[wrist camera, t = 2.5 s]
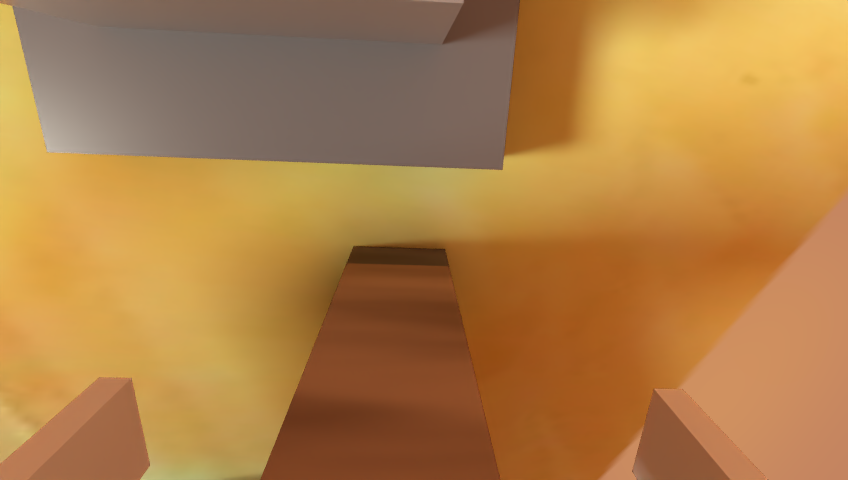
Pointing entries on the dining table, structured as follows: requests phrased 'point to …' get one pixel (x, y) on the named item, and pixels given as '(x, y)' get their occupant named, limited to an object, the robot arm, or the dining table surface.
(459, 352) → the brown wooden block
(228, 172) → the dining table surface
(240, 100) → the switch panel
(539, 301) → the dining table surface
